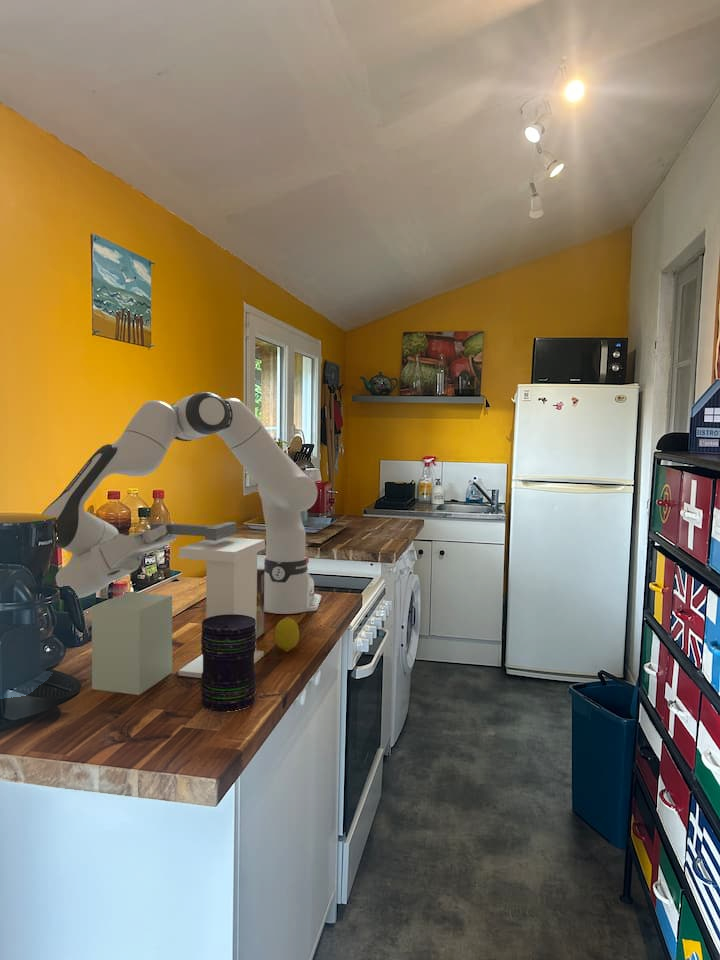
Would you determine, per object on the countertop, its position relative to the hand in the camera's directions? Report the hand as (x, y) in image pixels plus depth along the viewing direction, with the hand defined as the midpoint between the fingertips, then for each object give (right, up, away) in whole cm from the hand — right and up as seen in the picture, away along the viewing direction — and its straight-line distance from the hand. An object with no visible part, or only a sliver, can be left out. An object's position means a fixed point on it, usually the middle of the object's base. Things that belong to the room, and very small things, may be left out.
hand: (170, 526), depth 138 cm
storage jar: (+16, -31, -19) cm, 40 cm away
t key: (+4, -2, -1) cm, 5 cm away
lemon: (+24, -29, +9) cm, 39 cm away
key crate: (-4, -30, -11) cm, 32 cm away
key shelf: (+11, -29, -1) cm, 31 cm away
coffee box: (+13, -28, +18) cm, 36 cm away
